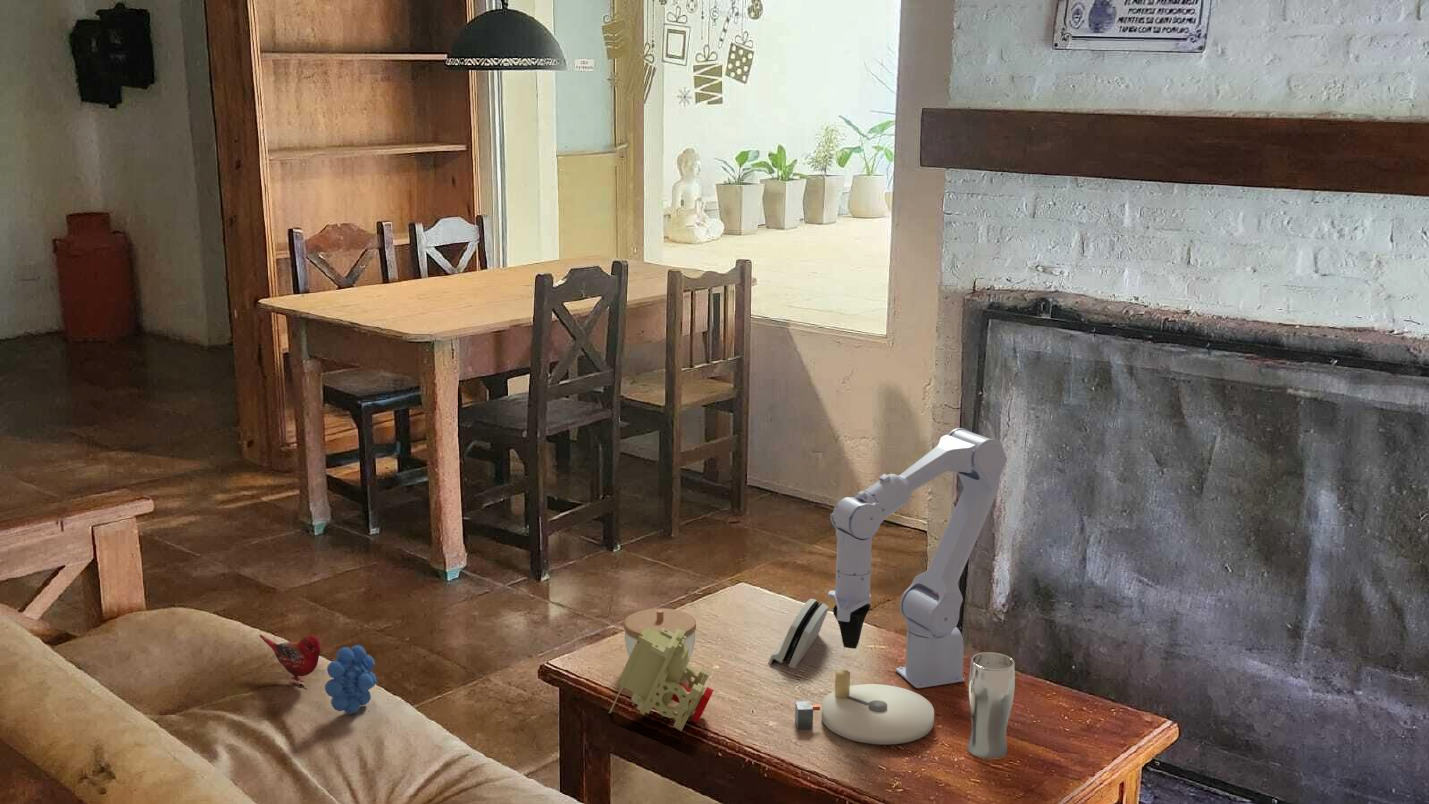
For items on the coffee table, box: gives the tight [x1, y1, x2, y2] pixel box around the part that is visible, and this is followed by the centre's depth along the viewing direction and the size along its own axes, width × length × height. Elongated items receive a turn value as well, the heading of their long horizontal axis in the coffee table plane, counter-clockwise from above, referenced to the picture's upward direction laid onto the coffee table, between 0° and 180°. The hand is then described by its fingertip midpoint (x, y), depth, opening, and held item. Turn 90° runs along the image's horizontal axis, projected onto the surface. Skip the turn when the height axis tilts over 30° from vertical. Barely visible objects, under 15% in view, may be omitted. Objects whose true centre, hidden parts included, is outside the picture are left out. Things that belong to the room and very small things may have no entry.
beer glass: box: [967, 651, 1016, 760], centre depth 205 cm, size 7×7×15 cm
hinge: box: [767, 598, 830, 669], centre depth 243 cm, size 17×5×10 cm, turn 161°
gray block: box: [794, 700, 821, 731], centre depth 215 cm, size 4×3×4 cm
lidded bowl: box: [623, 607, 697, 659], centre depth 234 cm, size 13×13×11 cm
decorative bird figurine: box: [259, 634, 323, 682], centre depth 228 cm, size 3×18×10 cm, turn 53°
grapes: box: [324, 644, 378, 715], centre depth 216 cm, size 12×7×12 cm, turn 157°
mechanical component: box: [608, 627, 714, 732], centre depth 215 cm, size 8×17×20 cm, turn 79°
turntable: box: [821, 669, 935, 745], centre depth 215 cm, size 18×18×6 cm
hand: (850, 646), depth 224 cm, fingers closed
